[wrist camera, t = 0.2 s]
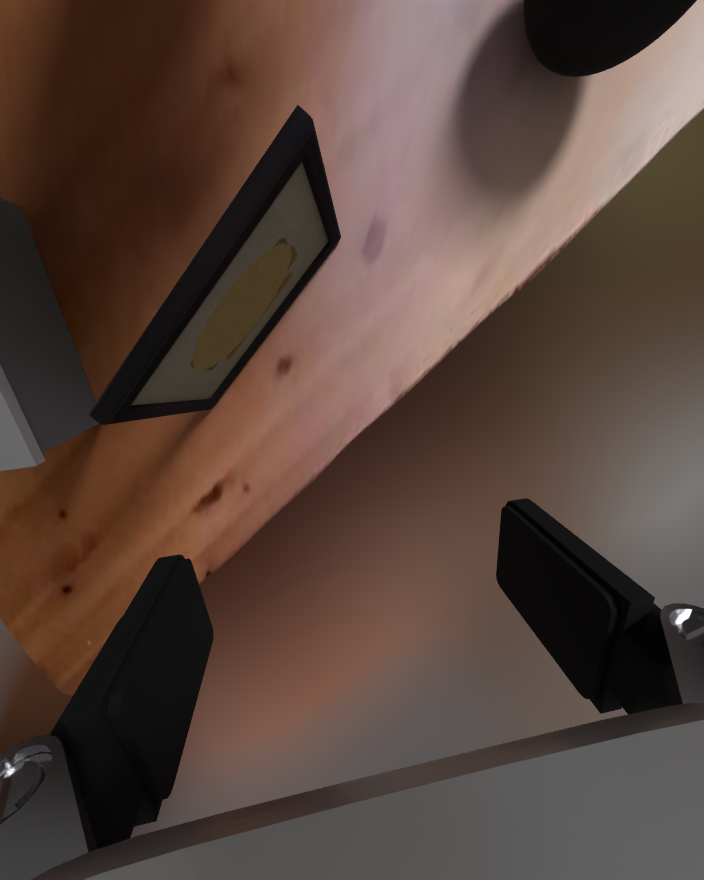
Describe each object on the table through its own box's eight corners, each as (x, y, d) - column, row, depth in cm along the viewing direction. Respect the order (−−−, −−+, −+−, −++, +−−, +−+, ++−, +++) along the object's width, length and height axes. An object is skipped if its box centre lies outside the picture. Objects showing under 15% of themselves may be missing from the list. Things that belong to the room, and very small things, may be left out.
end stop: (-25, 203, 29) (-202, 140, 19) (25, 200, 29) (-123, 137, 19) (71, 430, 36) (-19, 473, 26) (109, 425, 37) (36, 466, 27)
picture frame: (211, 409, 38) (137, 449, 23) (140, 357, 36) (11, 364, 21) (341, 237, 34) (350, 158, 19) (270, 167, 32) (219, 21, 17)
